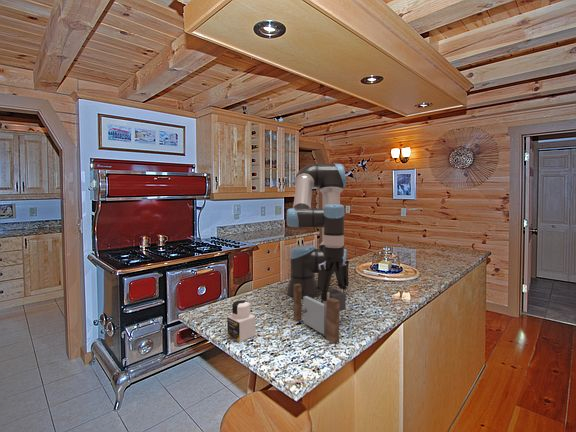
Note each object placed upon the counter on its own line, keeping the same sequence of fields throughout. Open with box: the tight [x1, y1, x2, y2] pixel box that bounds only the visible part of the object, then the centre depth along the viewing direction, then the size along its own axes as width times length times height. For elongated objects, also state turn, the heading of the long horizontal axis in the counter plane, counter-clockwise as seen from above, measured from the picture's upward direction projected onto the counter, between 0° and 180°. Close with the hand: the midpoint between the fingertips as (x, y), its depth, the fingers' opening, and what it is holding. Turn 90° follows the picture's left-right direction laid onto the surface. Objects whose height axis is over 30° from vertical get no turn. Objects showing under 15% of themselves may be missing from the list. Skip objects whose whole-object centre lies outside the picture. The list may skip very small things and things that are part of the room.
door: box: [302, 296, 327, 338], centre depth 115 cm, size 3×13×11 cm, turn 33°
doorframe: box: [293, 284, 340, 344], centre depth 116 cm, size 2×24×14 cm, turn 33°
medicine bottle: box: [226, 299, 257, 343], centre depth 111 cm, size 7×7×12 cm
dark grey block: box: [320, 288, 347, 312], centre depth 120 cm, size 7×6×6 cm
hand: (333, 307), depth 121 cm, fingers closed on dark grey block, 6 cm apart
